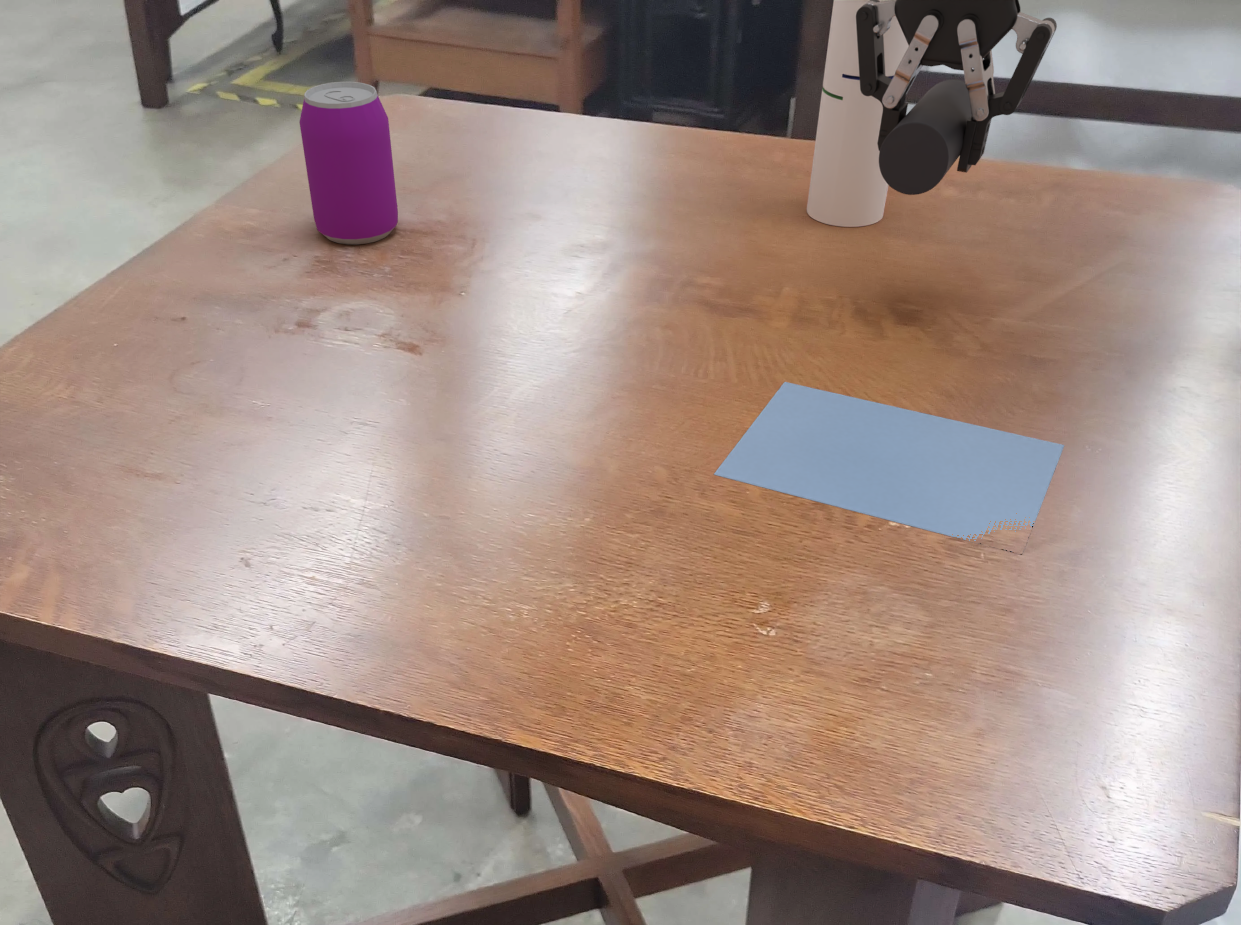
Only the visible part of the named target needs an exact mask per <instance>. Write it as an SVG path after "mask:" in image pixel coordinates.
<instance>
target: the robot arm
mask: <svg viewBox="0 0 1241 925" xmlns="http://www.w3.org/2000/svg"><path fill="white" fill-rule="evenodd" d="M894 16H896V18H897V20H898V23H899V25H900V27H901V29H902V32H903V34H904V36H905V38H906V41H907V43H908V45H909V47H908V49H907V51H906V52H905V54H904V56H903V58H902V60H901V62H900V64H899V66H898V68H897V69H896V72H895V75H894V77H893V79H891V78H889V77H887V76H885V58H884V38H883V34H884V33H885V32H887V31H888V30H889V28H890V25H891V20H892V17H894ZM1057 25H1058V24H1057V21H1056V20H1055V19H1054V18H1052V17H1046V18H1043V19H1040V18H1037V17H1034V16H1031V15H1029V14H1027V13H1024V12H1022V11H1021V4H1020V1H1019V0H888V1H881V2H880V1H879V0H870V1H868V2H867V3H865V4H864V5H863V6H862V7H861V8H860V9H859V10H858V11H857V13H856V28H857V44H858V60H859V77H860V90H861V93H862V94H863V95H865V96H872V97H874V98H876V99H878V100H879V101H880V102H881V104H882V106H883V113H882V119H881V125H880V131H879V137H878V143H877V144H878V149H879V151H880V149H881V146H882V143H883V142H884V140H885V138H886V137H887V136H888V135H889V133H890V132H891V131H892V130H893V129H894V128H895V127H896V126H897V125H898V124H899V122H900V121H901V120H902V119H903V118H904V117H905V116H906V115H907V113H908V112H907V111H908V106H909V102H906V97H907V94H908V93H909V91H910V89H911V87H912V85H913V83H914V81H915V79H917V76H918V75H919V73H920V71H921V69H922V68H923V67H924V66H925V67H931V68H932V67H939V66H944V67H947V68H949V69H951V70H954V71H962V72H963V76H964V77H963V78H964V82H965V84H966V88H967V89H968V92H969V99H970V107H971V114H972V115H971V117H970V118H969V119H968V120H967V124H966V129H965V134H964V139H963V145H962V149H961V153H960V156H959V157H958V163H957V168H956V171H957V172H961V173H968V172H969V170H970V169H971V168H972V166H976V165H977V164H978V163H979V161H980V160H981V159H982V157H983V155H984V153H985V150H986V144H987V141H988V136H989V131H990V127H991V122H992V119H993V118H995V117H997V116H1003V115H1004V116H1009V115H1012V114H1014V113H1015V111H1016V109H1017V108H1019V105H1020V104H1021V103H1022V101H1023V100H1024V97H1025V95H1026V93H1027V91H1028V89H1029V88H1030V85H1031V83H1032V81H1033V79H1034V77H1035V75H1036V72H1037V70H1038V69H1039V66H1040V64H1041V62H1042V60H1043V58H1044V56H1045V54H1046V52H1047V49H1048V47H1049V45H1050V43H1051V41H1052V40H1053V37H1054V35H1055V33H1056V31H1057V29H1058V28H1057V27H1058V26H1057ZM1012 30H1013V31H1014V32H1015V34H1016V42H1015V49H1016V51H1017V52H1018V53H1019V54H1021V57H1020V58H1019V60H1018V62H1017V64H1016V67H1015V69H1014V71H1013V73H1012V76H1011V78H1010V80H1009V82H1008V84H1007V86H1006V88H1005V91H1001V92H997V93H996V90H995V89H996V88H995V82H994V74H995V66H994V58H993V52H992V50H993V49H994V48H995V47H996V46H997V45H998V44H999V43H1000V42H1001V41H1002V40H1003V39H1004V37H1006V36H1007V34H1009V33H1010V31H1012Z"/></svg>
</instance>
